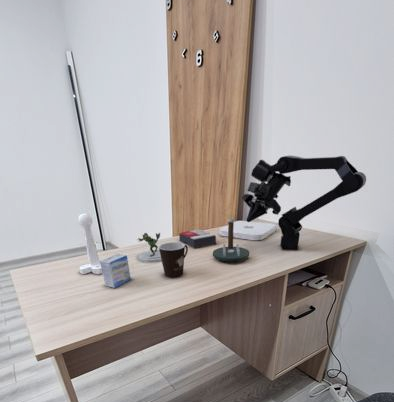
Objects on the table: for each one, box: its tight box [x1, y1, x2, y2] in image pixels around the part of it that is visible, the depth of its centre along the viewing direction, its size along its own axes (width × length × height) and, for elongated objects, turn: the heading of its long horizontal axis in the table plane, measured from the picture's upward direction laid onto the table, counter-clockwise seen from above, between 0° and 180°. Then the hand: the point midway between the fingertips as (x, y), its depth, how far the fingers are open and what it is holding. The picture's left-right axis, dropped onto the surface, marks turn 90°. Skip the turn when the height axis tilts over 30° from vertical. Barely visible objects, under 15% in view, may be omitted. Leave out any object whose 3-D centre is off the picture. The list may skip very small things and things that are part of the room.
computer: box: [219, 220, 277, 241], centre depth 145 cm, size 22×22×3 cm
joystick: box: [77, 213, 103, 275], centre depth 104 cm, size 11×8×20 cm
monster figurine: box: [136, 232, 162, 263], centre depth 118 cm, size 12×12×10 cm
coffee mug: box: [158, 241, 189, 279], centre depth 102 cm, size 12×9×10 cm
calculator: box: [178, 229, 217, 249], centre depth 135 cm, size 11×4×15 cm
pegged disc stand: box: [212, 218, 251, 261], centre depth 112 cm, size 14×14×12 cm
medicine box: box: [99, 253, 132, 289], centre depth 97 cm, size 8×4×9 cm, turn 148°
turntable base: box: [217, 259, 245, 264], centre depth 116 cm, size 10×10×1 cm
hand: (247, 221), depth 118 cm, fingers closed
